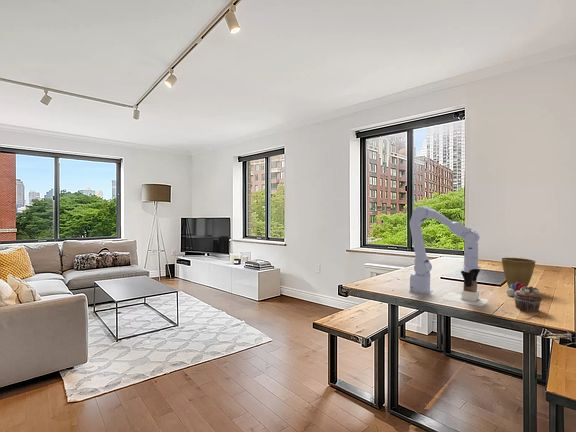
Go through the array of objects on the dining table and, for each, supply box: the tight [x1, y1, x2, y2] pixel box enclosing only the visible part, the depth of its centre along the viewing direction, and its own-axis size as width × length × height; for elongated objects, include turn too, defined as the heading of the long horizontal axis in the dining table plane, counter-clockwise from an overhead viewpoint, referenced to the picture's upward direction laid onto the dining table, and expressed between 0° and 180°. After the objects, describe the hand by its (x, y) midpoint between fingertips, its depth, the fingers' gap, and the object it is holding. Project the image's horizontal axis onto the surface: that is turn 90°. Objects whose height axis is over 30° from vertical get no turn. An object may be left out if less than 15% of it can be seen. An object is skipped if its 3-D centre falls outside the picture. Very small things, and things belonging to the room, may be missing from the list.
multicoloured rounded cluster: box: [506, 282, 526, 297], centre depth 162 cm, size 8×10×7 cm
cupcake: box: [513, 286, 543, 313], centre depth 143 cm, size 10×10×10 cm
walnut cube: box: [463, 280, 478, 292], centre depth 157 cm, size 4×4×4 cm
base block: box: [460, 288, 480, 302], centre depth 157 cm, size 6×6×4 cm
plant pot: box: [501, 257, 536, 289], centre depth 178 cm, size 15×15×16 cm
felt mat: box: [439, 292, 490, 307], centre depth 157 cm, size 18×14×1 cm
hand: (470, 285), depth 157 cm, fingers open, 7 cm apart
